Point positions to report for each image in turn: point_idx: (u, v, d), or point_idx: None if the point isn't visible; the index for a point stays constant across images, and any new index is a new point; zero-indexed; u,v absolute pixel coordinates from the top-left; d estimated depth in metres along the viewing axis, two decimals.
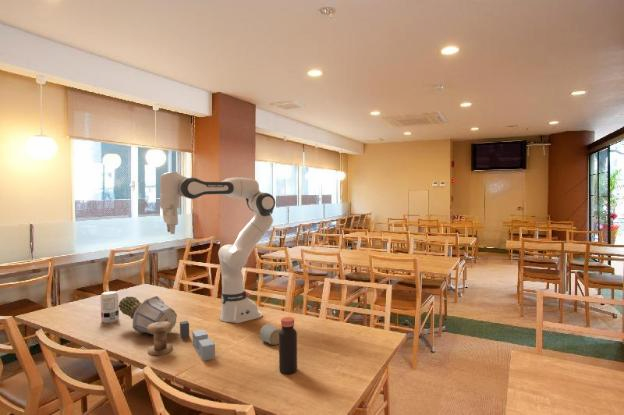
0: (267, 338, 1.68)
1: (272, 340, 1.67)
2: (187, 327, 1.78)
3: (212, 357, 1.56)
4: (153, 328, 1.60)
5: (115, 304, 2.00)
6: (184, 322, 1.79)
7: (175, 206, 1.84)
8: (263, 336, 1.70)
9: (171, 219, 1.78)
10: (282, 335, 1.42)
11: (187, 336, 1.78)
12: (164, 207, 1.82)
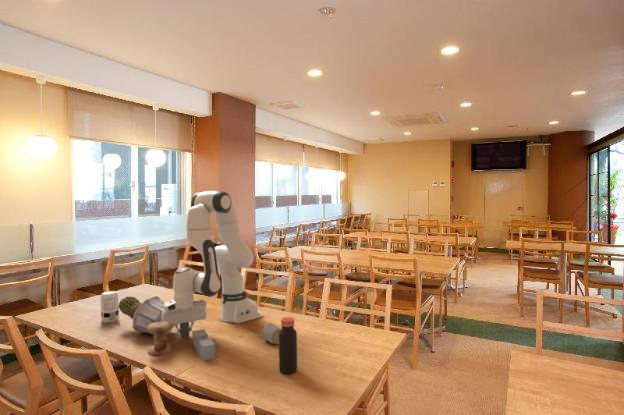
0: (269, 337, 1.69)
1: (274, 339, 1.68)
2: (187, 327, 1.78)
3: (212, 357, 1.56)
4: (153, 328, 1.60)
5: (115, 304, 2.00)
6: None
7: None
8: (265, 335, 1.71)
9: None
10: (282, 335, 1.42)
11: (187, 336, 1.78)
12: (191, 305, 1.77)
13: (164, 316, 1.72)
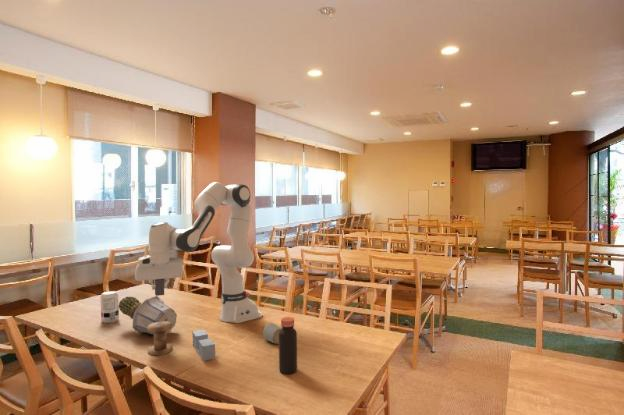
0: (270, 337, 1.69)
1: (275, 339, 1.68)
2: (162, 284, 1.71)
3: (212, 357, 1.56)
4: (153, 328, 1.60)
5: (115, 304, 2.00)
6: (159, 279, 1.72)
7: None
8: (266, 335, 1.71)
9: (182, 271, 1.76)
10: (282, 335, 1.42)
11: (162, 293, 1.71)
12: (167, 261, 1.71)
13: (138, 270, 1.66)
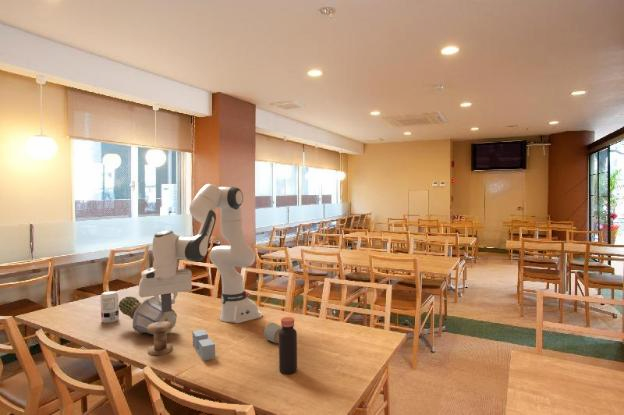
0: (271, 337, 1.69)
1: (276, 339, 1.69)
2: (169, 299, 1.54)
3: (212, 357, 1.56)
4: (153, 328, 1.60)
5: (115, 304, 2.00)
6: None
7: None
8: (267, 335, 1.71)
9: None
10: (282, 335, 1.42)
11: (169, 309, 1.54)
12: (174, 274, 1.53)
13: (142, 285, 1.49)
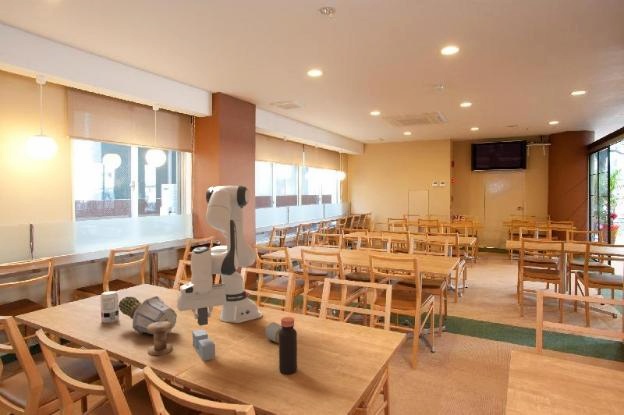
0: (272, 336, 1.70)
1: (277, 338, 1.69)
2: (206, 312, 1.61)
3: (212, 357, 1.56)
4: (153, 328, 1.60)
5: (115, 304, 2.00)
6: None
7: None
8: (268, 334, 1.72)
9: None
10: (282, 335, 1.42)
11: (205, 322, 1.61)
12: (211, 288, 1.61)
13: (181, 300, 1.56)
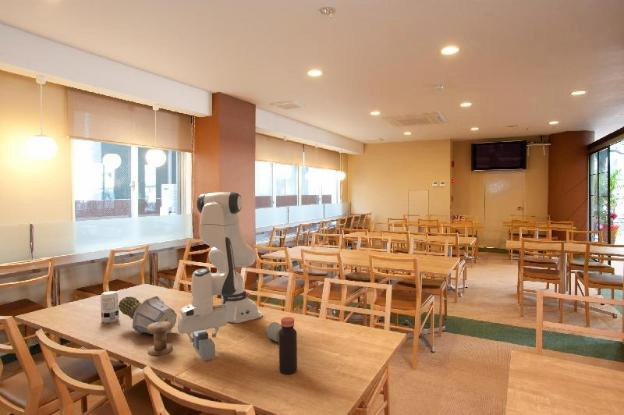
0: (274, 336, 1.70)
1: (278, 338, 1.69)
2: (206, 338, 1.62)
3: (212, 357, 1.56)
4: (153, 328, 1.60)
5: (115, 304, 2.00)
6: (203, 333, 1.63)
7: None
8: (270, 334, 1.72)
9: None
10: (282, 335, 1.42)
11: None
12: (211, 310, 1.61)
13: (181, 323, 1.56)
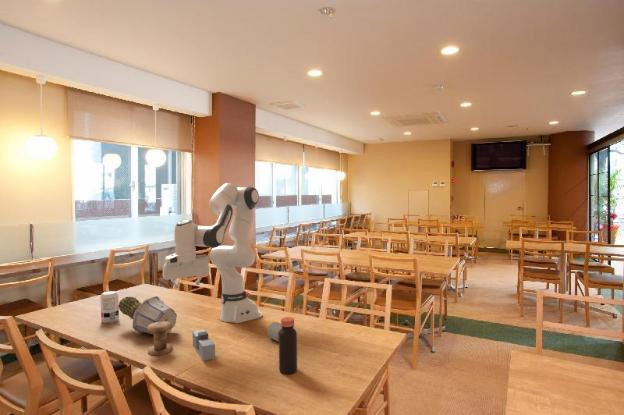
0: (275, 335, 1.71)
1: None
2: (206, 338, 1.62)
3: (212, 357, 1.56)
4: (153, 328, 1.60)
5: (115, 304, 2.00)
6: (203, 333, 1.63)
7: None
8: (271, 334, 1.73)
9: None
10: (282, 335, 1.42)
11: None
12: (194, 259, 1.71)
13: (166, 269, 1.65)
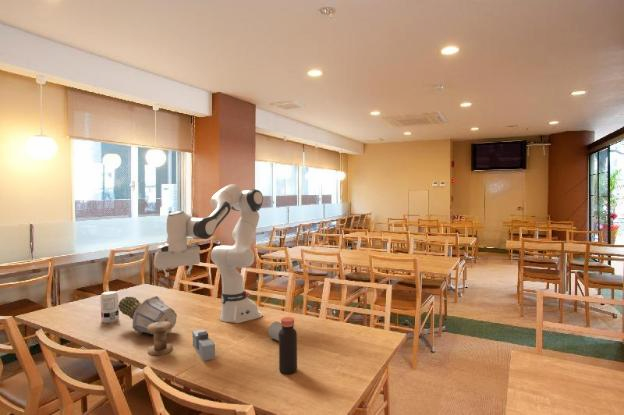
0: (275, 335, 1.71)
1: None
2: (206, 338, 1.62)
3: (212, 357, 1.56)
4: (153, 328, 1.60)
5: (115, 304, 2.00)
6: (203, 333, 1.63)
7: None
8: (271, 333, 1.73)
9: (199, 258, 1.82)
10: (282, 335, 1.42)
11: None
12: (185, 248, 1.76)
13: (157, 258, 1.71)
